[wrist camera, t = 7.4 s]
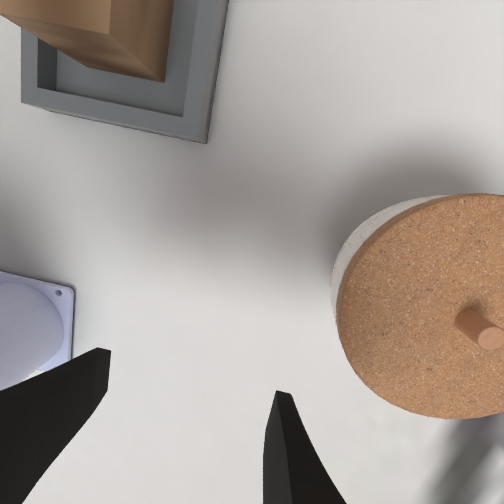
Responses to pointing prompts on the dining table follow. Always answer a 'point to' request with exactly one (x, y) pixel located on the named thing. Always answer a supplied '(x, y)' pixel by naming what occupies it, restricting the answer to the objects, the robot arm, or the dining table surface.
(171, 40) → the tray
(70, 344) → the robot arm
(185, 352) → the dining table surface
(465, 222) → the lidded jar
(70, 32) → the walnut block
